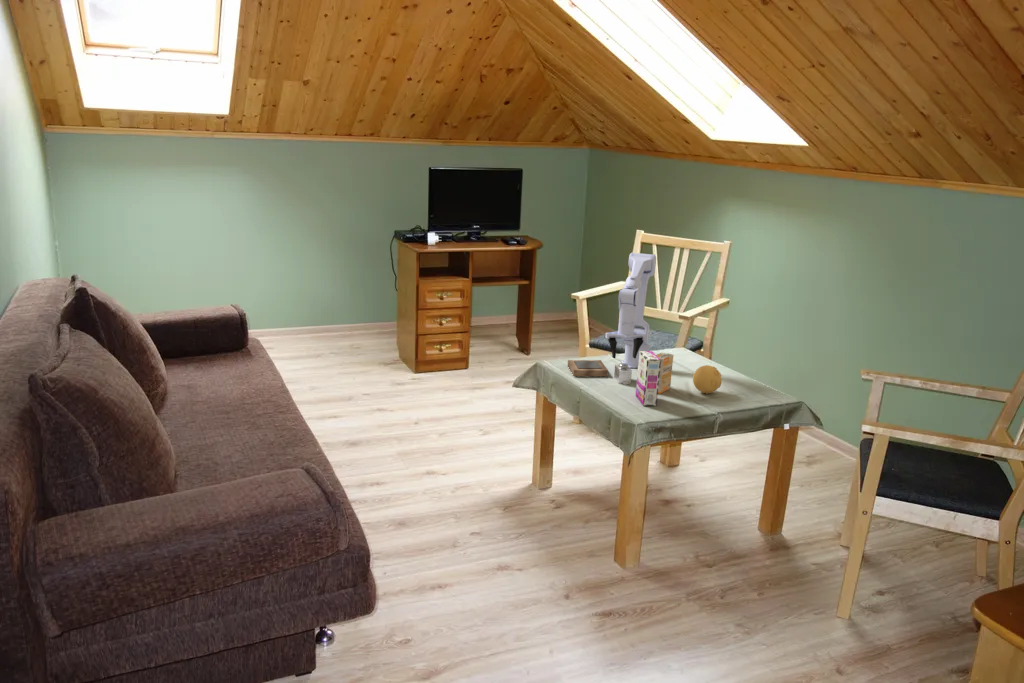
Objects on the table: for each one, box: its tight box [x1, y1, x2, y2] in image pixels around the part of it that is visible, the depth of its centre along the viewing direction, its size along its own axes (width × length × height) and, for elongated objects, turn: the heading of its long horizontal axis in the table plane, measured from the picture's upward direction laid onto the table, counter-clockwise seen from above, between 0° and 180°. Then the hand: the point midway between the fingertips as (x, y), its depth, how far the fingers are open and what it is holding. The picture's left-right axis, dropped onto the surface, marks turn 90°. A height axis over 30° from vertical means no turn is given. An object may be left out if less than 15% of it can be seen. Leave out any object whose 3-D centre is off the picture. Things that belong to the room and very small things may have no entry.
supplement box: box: [655, 352, 674, 395], centre depth 282 cm, size 8×5×13 cm, turn 143°
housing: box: [613, 362, 632, 385], centre depth 293 cm, size 5×9×6 cm, turn 6°
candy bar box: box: [635, 350, 661, 407], centre depth 271 cm, size 11×5×16 cm, turn 5°
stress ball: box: [692, 365, 722, 395], centre depth 282 cm, size 10×10×10 cm
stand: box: [567, 359, 609, 378], centre depth 302 cm, size 13×13×3 cm
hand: (624, 357), depth 291 cm, fingers open, 7 cm apart
